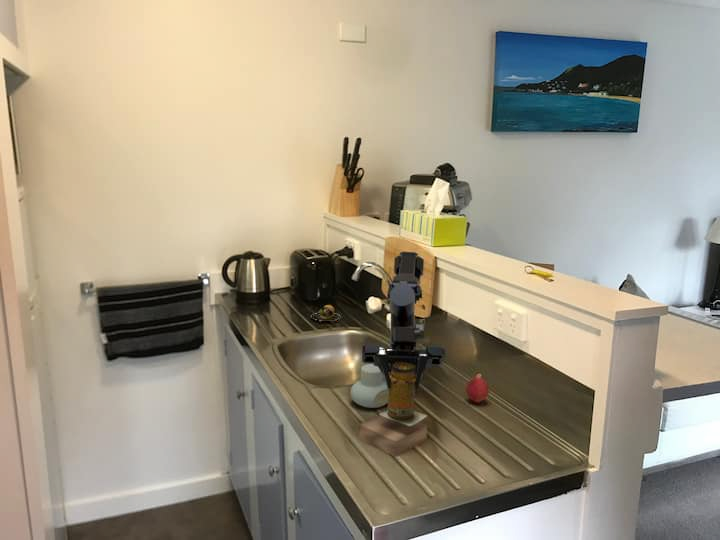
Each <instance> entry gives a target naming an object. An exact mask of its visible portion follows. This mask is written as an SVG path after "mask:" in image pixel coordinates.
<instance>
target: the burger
mask: <svg viewBox="0 0 720 540" xmlns="http://www.w3.org/2000/svg"><path fill="white" fill-rule="evenodd" d="M332 303H333V302H332ZM332 303H331V304H327V305H324V306H323V309H322V308H320V310H319V311H318V312H314V313H312V314H311V315H310V317H311V318H312V315H314V314H317V313H320V314H319V315H320V317H321V318H323V319H331V318H332V316H334V314H337V315H339V316H340V318H341V319H342V316H341V315H340V314H339V313H337V312H335V308H334V306H332ZM340 318H338V319H340ZM312 319H314V318H312ZM338 319H335V320H327V321H330V322H331V321H336V322H337V320H338ZM314 320H315V321H317V319H314ZM324 321H325V320H324ZM318 322H322V320H319V321H318ZM330 322H329V323H330Z"/></svg>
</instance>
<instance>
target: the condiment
mask: <svg viewBox="0 0 720 540" xmlns="http://www.w3.org/2000/svg"><path fill="white" fill-rule="evenodd" d="M415 366H416V365H415ZM415 366H414V365H413V364H411V363H407V362H397V363H394V364H393V365H392V371H391V373H392V374H391V376H390V375H389V378H390V389H389V394H388V402H387V410H385V411H383V412H381V413H379V415H381V416H384V417H386V418H388V419H391V420H394V421H398V422H400V423H402V424H406V425H408V426H411V425H414V424H415V423H417V422H421V421H422V420H423V419H425V418H427V417H428V415H426V414H424V413H421V412H418V411H416V410H415V403H416V401H415V400H416V392H415V389H416V374H415ZM379 415H378V416H379Z"/></svg>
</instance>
